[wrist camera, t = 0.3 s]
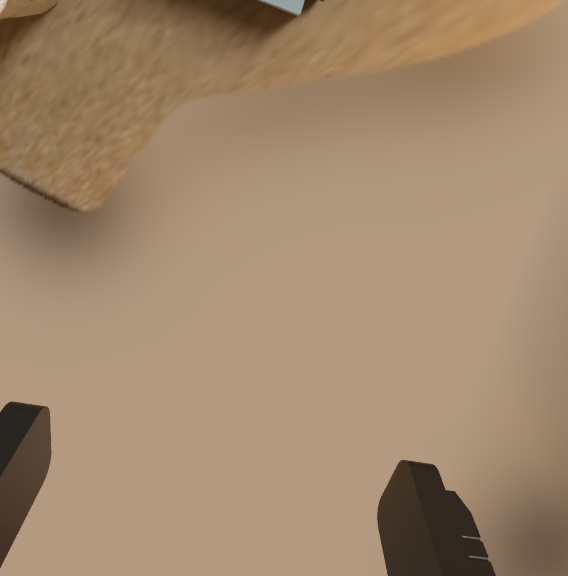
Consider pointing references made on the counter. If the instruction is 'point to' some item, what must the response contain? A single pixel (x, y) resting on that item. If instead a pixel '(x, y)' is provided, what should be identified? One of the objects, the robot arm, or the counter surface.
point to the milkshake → (24, 7)
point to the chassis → (286, 5)
